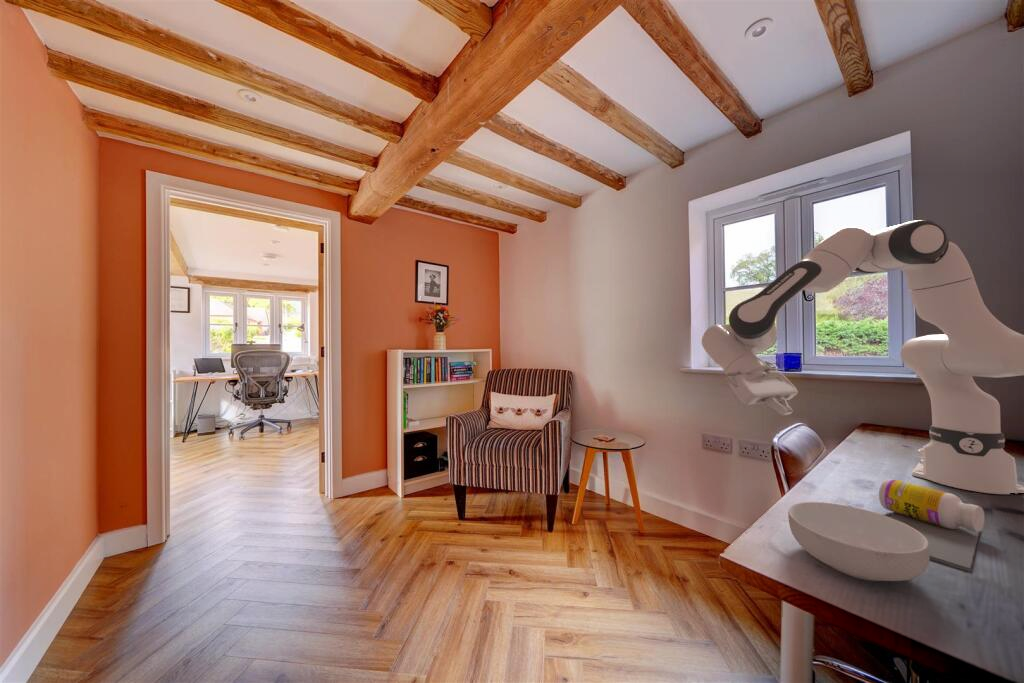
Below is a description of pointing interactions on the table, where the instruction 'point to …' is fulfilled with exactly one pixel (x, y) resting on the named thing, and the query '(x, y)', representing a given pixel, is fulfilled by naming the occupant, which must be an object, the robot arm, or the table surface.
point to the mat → (945, 541)
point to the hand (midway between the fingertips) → (787, 413)
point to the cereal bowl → (859, 541)
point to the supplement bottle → (930, 505)
